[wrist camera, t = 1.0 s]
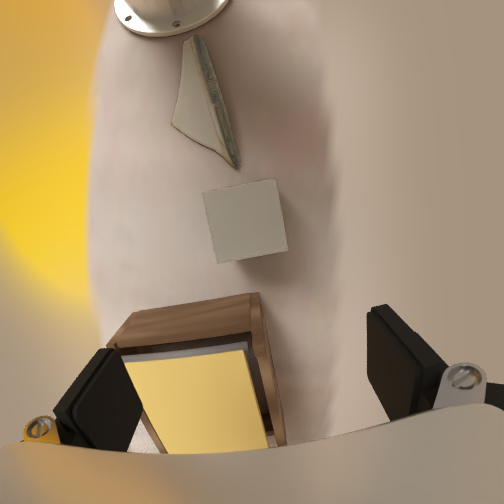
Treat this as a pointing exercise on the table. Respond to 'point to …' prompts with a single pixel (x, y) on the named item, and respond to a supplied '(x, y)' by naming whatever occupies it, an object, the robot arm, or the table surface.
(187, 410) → the trapdoor
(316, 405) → the table surface
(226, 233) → the plain grey carton
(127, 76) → the table surface
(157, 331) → the trapdoor frame
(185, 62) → the ceramic fragment
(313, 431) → the table surface
